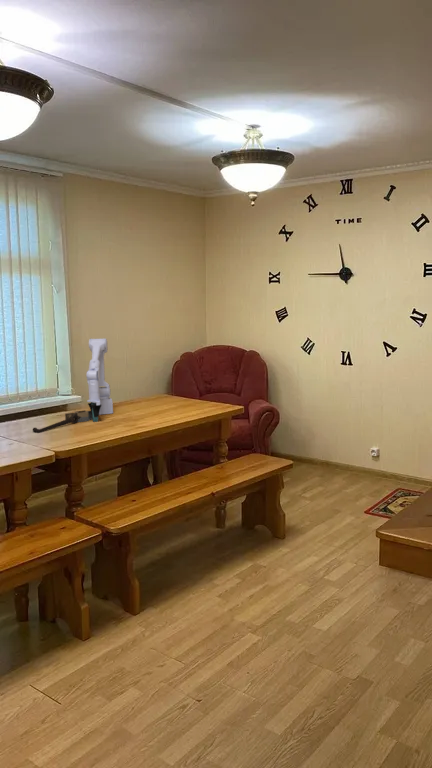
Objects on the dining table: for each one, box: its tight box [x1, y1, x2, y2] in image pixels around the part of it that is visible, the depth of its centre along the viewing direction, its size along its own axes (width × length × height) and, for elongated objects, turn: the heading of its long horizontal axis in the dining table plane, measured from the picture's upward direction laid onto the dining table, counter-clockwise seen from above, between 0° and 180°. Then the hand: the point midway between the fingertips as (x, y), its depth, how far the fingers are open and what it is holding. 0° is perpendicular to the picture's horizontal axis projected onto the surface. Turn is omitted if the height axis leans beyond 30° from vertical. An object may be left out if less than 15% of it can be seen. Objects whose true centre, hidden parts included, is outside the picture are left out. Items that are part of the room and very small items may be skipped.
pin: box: [91, 403, 99, 423], centre depth 342 cm, size 4×4×10 cm
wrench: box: [32, 414, 81, 434], centre depth 330 cm, size 5×5×30 cm
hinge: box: [64, 410, 93, 423], centre depth 345 cm, size 18×6×5 cm, turn 117°
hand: (95, 416), depth 342 cm, fingers closed on pin, 3 cm apart
